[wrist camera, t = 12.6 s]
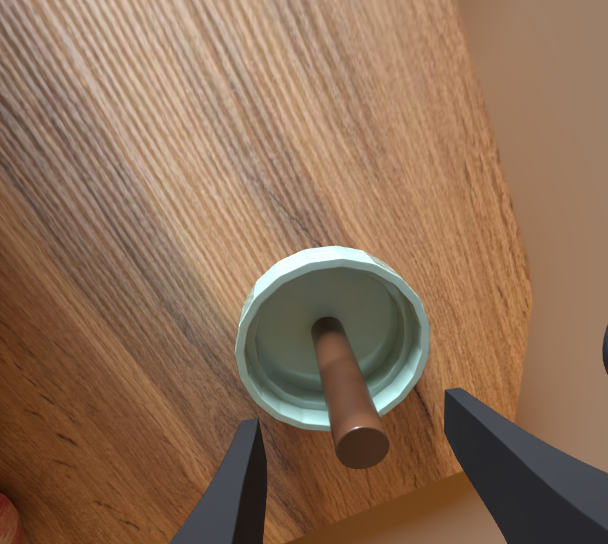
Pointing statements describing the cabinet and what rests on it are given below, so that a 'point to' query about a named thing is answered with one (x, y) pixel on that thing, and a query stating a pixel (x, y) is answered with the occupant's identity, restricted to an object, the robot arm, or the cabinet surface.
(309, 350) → the celadon bowl
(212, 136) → the cabinet surface
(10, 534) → the fruit
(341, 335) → the stirring stick
